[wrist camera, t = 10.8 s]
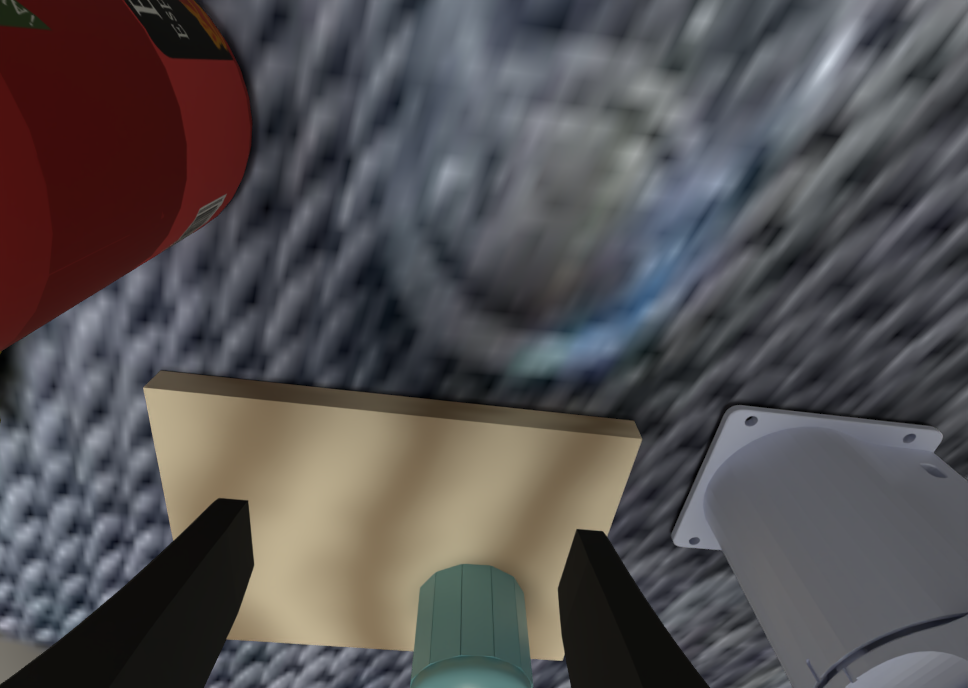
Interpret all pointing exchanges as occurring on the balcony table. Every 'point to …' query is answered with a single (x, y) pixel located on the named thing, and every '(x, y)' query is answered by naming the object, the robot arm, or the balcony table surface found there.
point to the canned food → (108, 144)
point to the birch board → (383, 499)
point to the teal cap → (471, 631)
